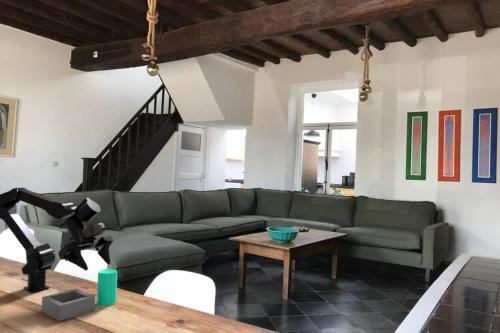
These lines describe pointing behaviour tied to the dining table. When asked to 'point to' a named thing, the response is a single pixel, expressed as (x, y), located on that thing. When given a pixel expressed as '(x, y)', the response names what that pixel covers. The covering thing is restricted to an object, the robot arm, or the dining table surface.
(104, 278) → the candle
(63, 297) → the box
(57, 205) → the robot arm
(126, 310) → the dining table surface
